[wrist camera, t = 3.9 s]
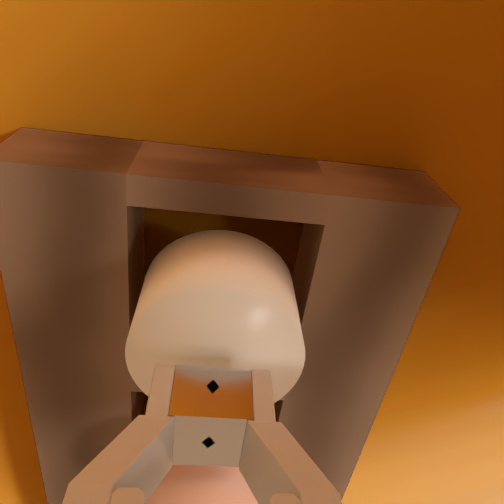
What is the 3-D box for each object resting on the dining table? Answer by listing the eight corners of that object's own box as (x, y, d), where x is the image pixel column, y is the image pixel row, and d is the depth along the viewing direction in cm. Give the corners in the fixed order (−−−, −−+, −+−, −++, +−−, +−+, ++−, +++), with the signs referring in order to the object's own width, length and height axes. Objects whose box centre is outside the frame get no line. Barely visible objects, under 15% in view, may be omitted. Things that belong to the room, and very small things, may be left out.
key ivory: (306, 237, 14) (322, 296, 11) (280, 354, 17) (289, 422, 14) (143, 222, 14) (122, 279, 11) (144, 344, 16) (126, 414, 14)
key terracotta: (269, 407, 18) (274, 478, 16) (253, 480, 21) (256, 550, 18) (143, 400, 18) (128, 472, 15) (143, 475, 20) (130, 547, 18)
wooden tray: (424, 171, 16) (460, 208, 14) (303, 524, 29) (309, 578, 26) (22, 127, 15) (-23, 159, 12) (77, 517, 27) (61, 572, 25)
